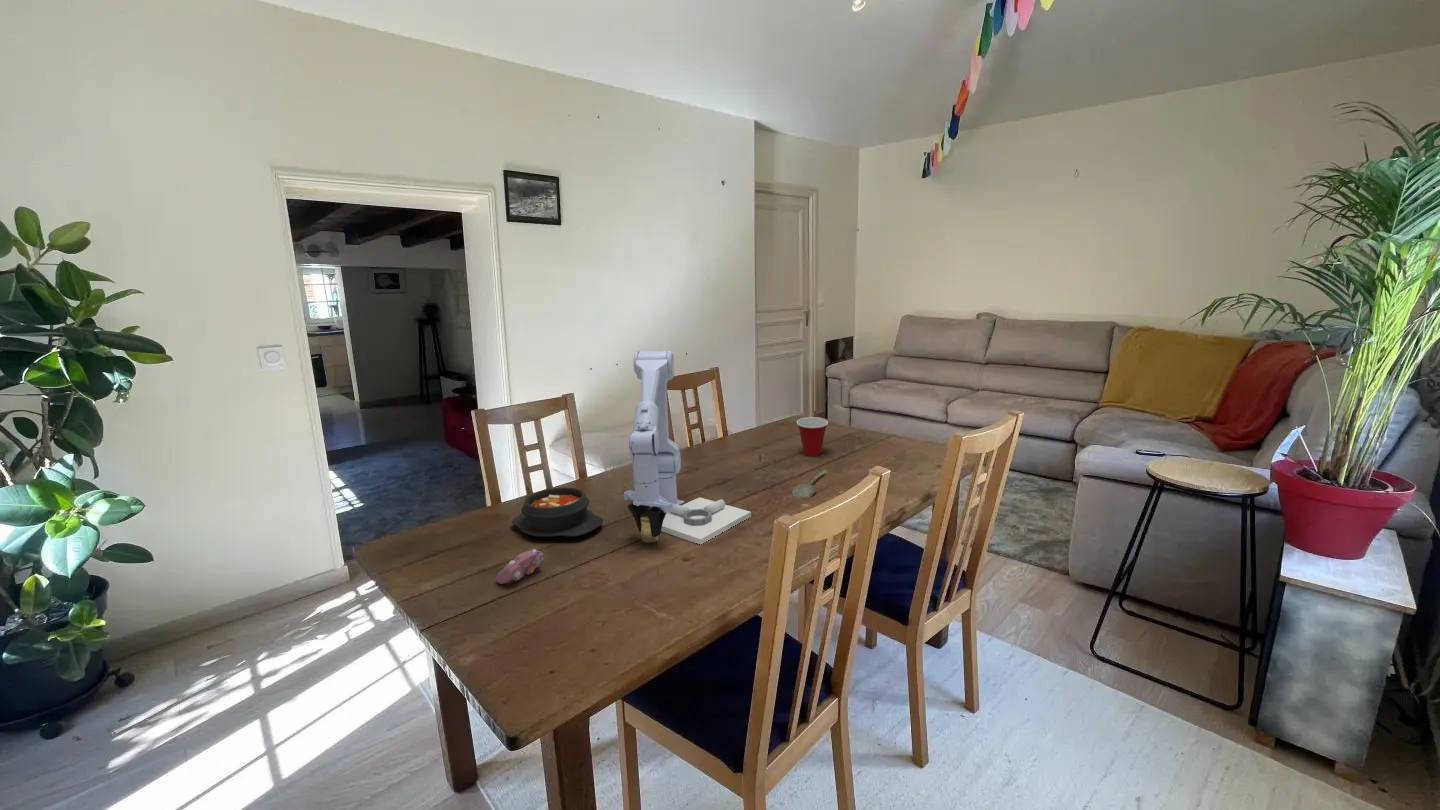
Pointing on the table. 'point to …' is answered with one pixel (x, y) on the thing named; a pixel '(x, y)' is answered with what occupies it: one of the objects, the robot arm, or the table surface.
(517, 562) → the video game controller
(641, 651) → the table surface
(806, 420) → the plastic cup
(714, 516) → the shaft base
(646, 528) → the salt shaker
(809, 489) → the soupspoon
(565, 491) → the casserole
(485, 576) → the table surface
